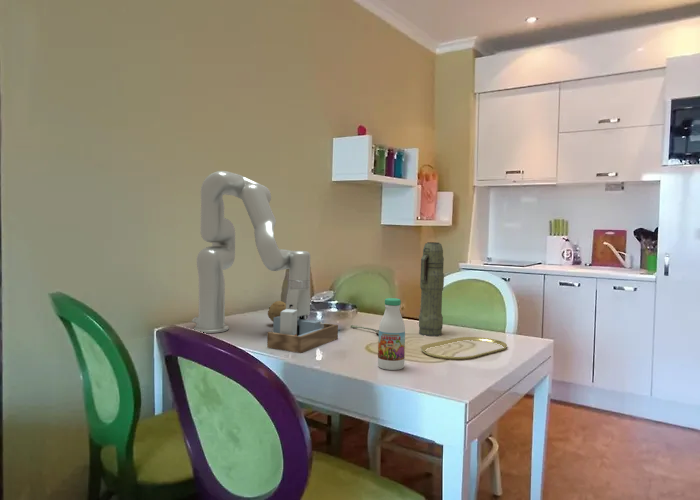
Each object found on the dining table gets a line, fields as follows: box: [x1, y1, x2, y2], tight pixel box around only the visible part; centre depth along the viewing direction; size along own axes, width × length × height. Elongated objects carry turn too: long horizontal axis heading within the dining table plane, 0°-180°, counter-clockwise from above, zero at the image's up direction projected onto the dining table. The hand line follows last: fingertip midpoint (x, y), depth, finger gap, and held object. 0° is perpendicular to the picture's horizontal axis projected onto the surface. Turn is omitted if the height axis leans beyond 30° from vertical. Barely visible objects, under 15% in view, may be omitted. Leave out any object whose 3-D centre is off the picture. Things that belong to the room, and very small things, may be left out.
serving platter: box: [420, 336, 508, 361], centre depth 176 cm, size 19×35×2 cm, turn 132°
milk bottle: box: [377, 297, 406, 371], centre depth 152 cm, size 8×8×20 cm
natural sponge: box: [267, 300, 286, 322], centre depth 208 cm, size 9×9×10 cm
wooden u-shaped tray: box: [266, 323, 339, 354], centre depth 180 cm, size 13×24×5 cm, turn 153°
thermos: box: [418, 241, 445, 337], centre depth 199 cm, size 9×12×35 cm
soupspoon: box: [349, 324, 379, 335], centre depth 200 cm, size 22×3×7 cm
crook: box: [272, 316, 321, 336], centre depth 183 cm, size 20×20×6 cm
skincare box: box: [280, 309, 297, 336], centre depth 175 cm, size 6×4×12 cm
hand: (298, 334), depth 190 cm, fingers closed on crook, 3 cm apart
